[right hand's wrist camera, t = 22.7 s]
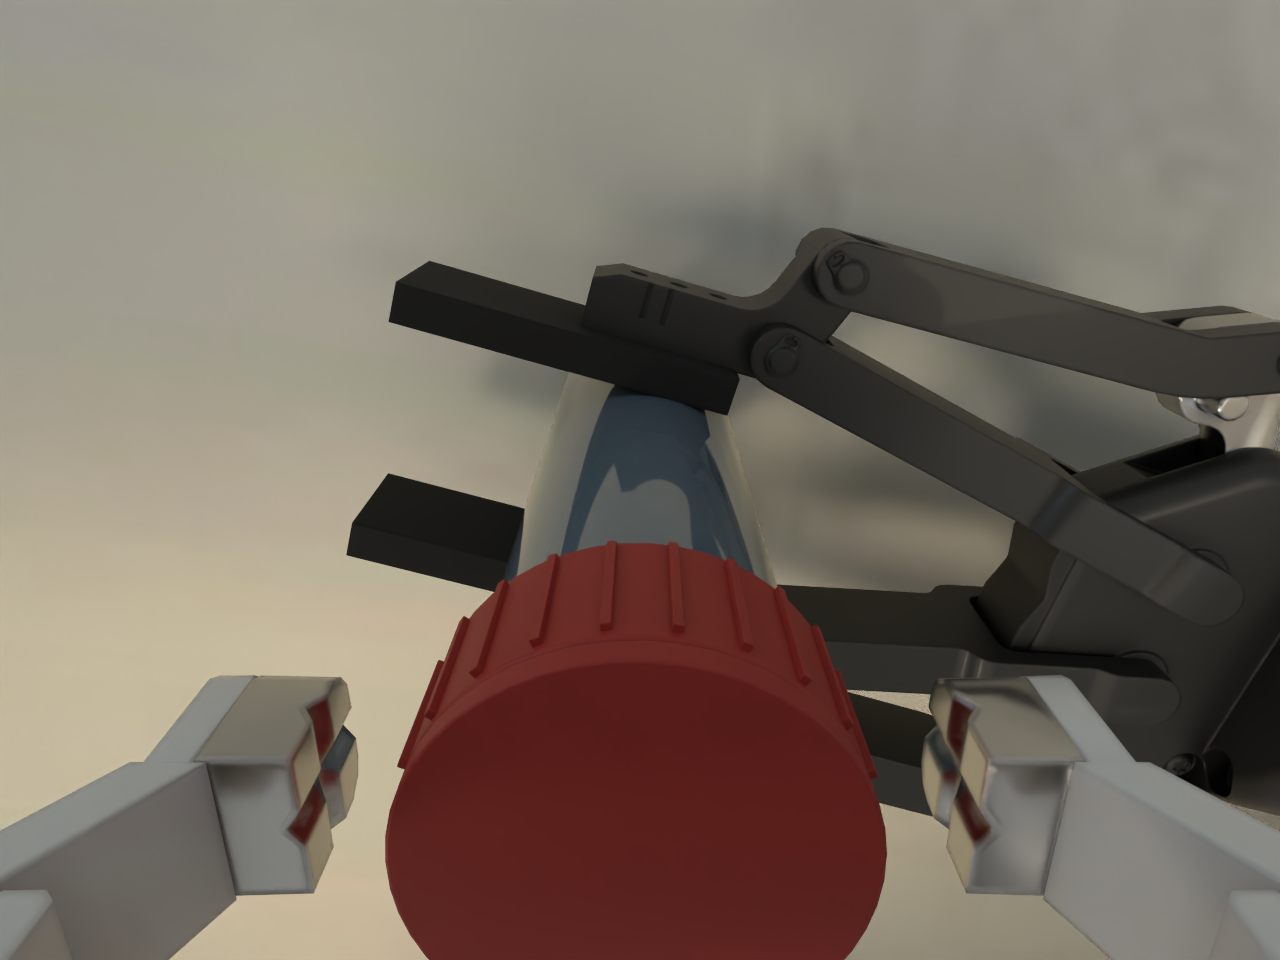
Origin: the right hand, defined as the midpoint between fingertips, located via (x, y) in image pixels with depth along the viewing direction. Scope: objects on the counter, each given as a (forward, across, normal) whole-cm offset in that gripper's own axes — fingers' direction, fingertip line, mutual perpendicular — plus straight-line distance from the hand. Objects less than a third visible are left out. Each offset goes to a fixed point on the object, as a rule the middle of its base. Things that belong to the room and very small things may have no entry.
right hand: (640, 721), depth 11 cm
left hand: (+8, -5, +1) cm, 10 cm away
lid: (-2, 0, 0) cm, 2 cm away
